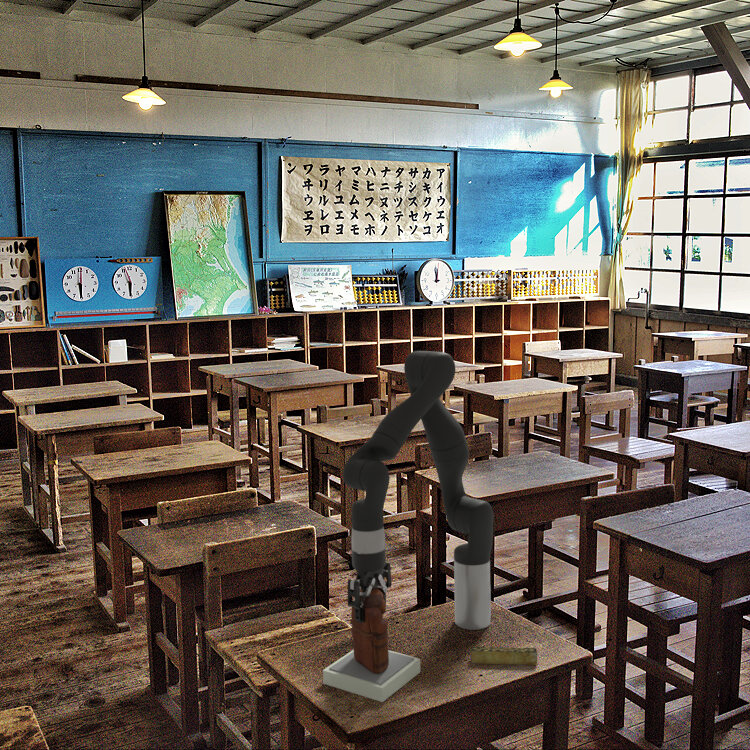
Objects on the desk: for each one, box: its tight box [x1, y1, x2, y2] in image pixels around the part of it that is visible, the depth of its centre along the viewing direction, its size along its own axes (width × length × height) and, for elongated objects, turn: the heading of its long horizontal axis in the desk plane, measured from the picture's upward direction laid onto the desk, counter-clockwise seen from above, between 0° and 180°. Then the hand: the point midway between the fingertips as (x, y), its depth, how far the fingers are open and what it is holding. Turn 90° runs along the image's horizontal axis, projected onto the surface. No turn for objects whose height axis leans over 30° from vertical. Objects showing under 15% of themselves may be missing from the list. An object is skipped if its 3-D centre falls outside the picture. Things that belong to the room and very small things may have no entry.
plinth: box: [322, 649, 421, 703], centre depth 199 cm, size 16×16×4 cm
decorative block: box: [470, 646, 538, 666], centre depth 206 cm, size 15×2×4 cm, turn 83°
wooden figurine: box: [351, 588, 389, 673], centre depth 198 cm, size 12×6×18 cm, turn 31°
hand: (370, 615), depth 198 cm, fingers open, 8 cm apart
